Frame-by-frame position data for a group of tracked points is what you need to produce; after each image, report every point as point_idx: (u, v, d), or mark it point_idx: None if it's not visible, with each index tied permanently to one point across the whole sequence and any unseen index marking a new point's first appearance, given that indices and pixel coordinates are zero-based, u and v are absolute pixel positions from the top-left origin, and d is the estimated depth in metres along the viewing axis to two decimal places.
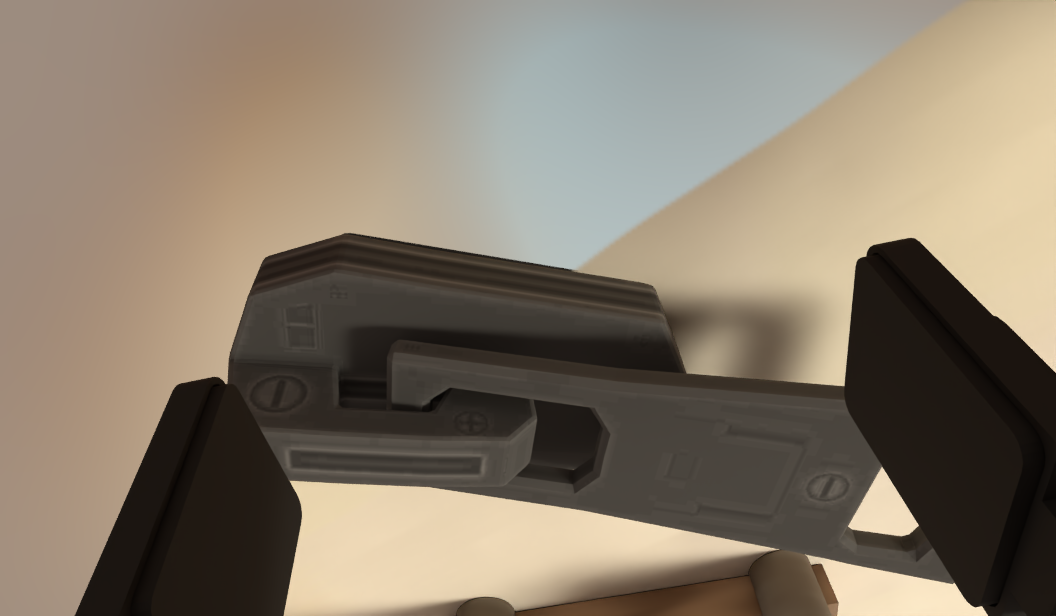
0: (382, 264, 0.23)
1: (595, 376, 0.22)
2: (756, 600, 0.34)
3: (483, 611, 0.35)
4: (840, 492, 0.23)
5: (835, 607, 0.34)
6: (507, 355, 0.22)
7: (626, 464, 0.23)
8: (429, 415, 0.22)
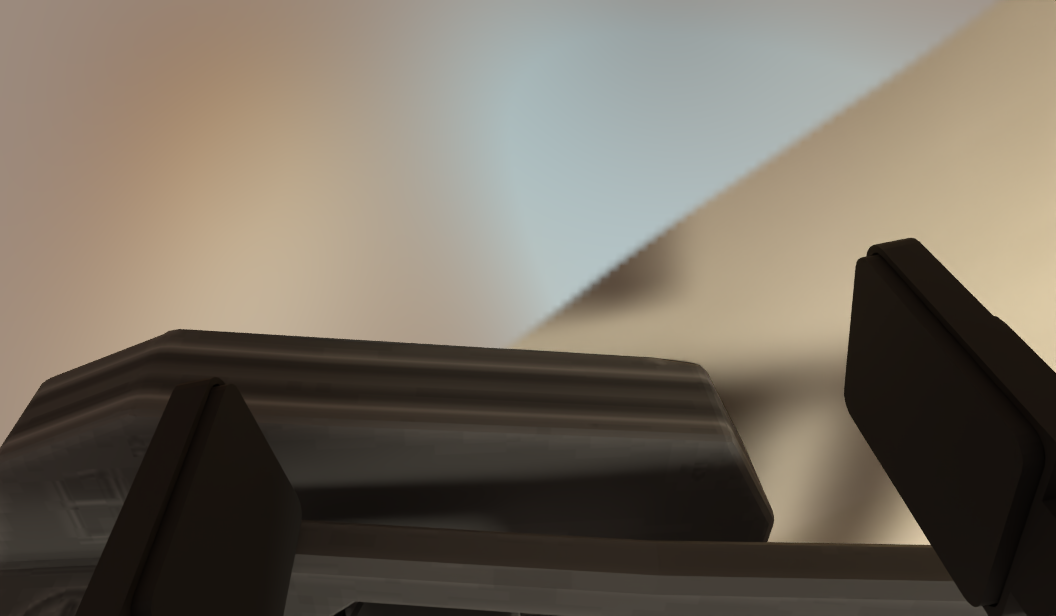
0: None
1: (619, 567, 0.12)
2: None
3: None
4: None
5: None
6: (457, 536, 0.12)
7: None
8: None
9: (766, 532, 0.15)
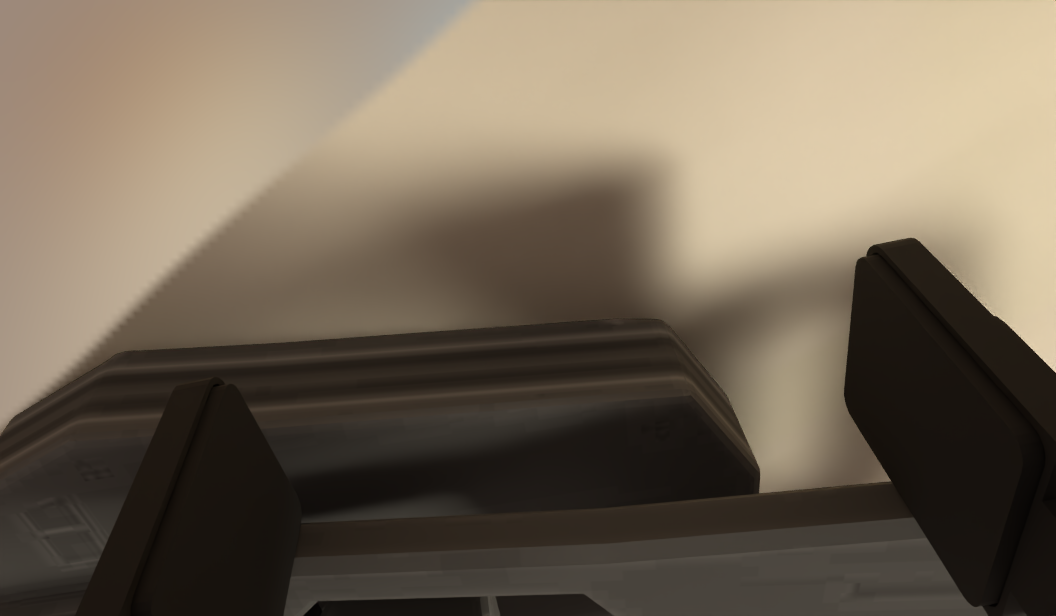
0: (166, 401, 0.13)
1: (569, 539, 0.11)
2: None
3: None
4: None
5: None
6: (404, 524, 0.12)
7: None
8: None
9: (754, 486, 0.14)
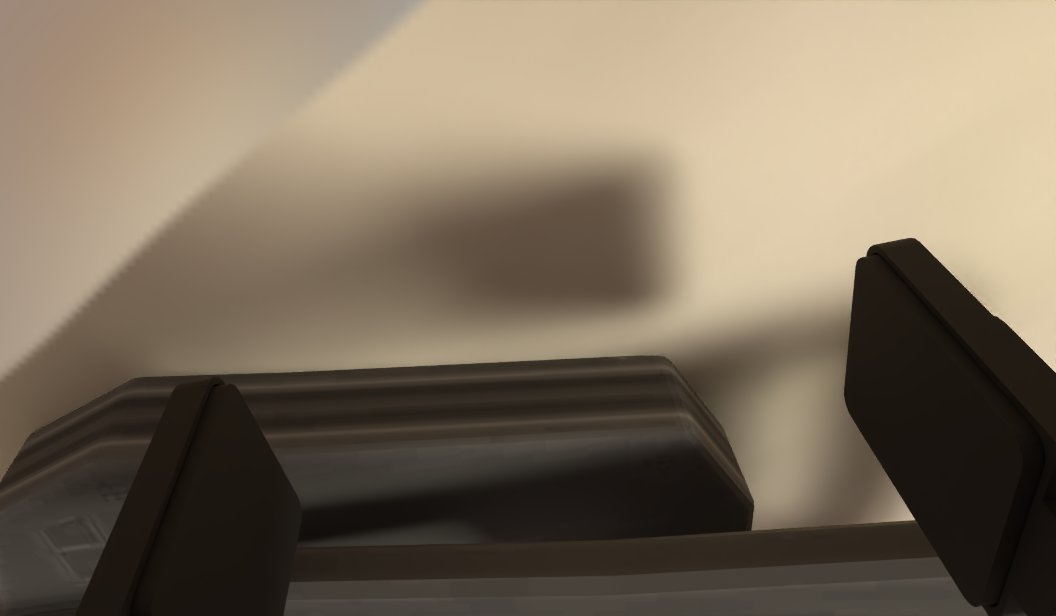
0: None
1: (575, 570, 0.12)
2: None
3: None
4: None
5: None
6: (416, 551, 0.12)
7: None
8: None
9: (748, 518, 0.15)
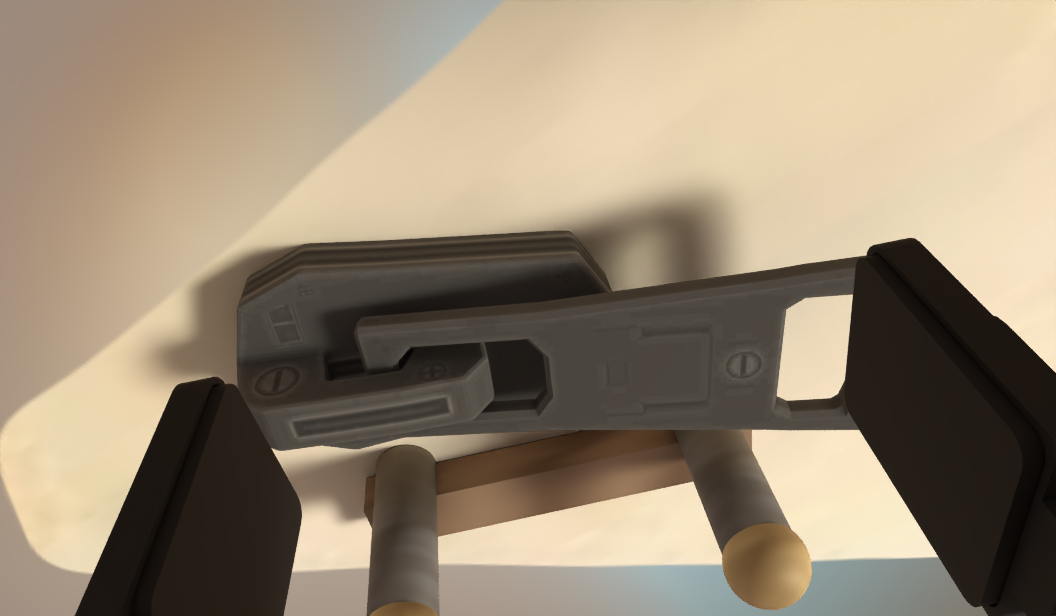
0: (336, 260, 0.28)
1: (521, 312, 0.26)
2: (672, 432, 0.35)
3: (401, 456, 0.34)
4: (755, 366, 0.27)
5: (749, 432, 0.34)
6: (449, 311, 0.27)
7: (571, 381, 0.28)
8: (398, 373, 0.27)
9: None
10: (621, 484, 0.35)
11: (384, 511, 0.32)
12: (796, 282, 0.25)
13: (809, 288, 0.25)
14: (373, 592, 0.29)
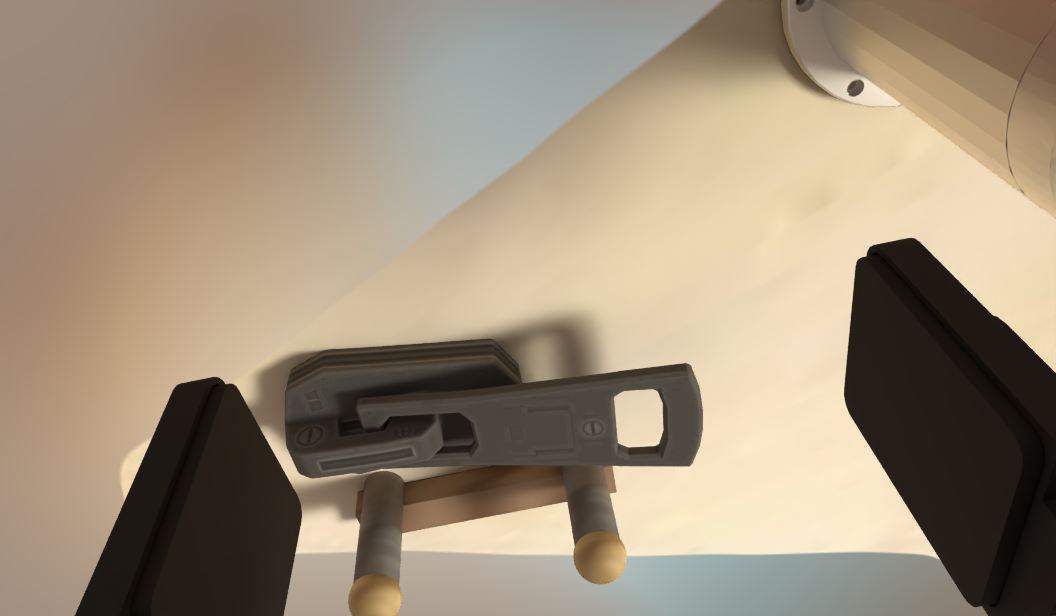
0: (345, 362, 0.45)
1: (455, 397, 0.44)
2: (561, 467, 0.52)
3: (380, 479, 0.52)
4: (600, 429, 0.44)
5: (611, 469, 0.52)
6: (412, 395, 0.44)
7: (488, 436, 0.45)
8: (382, 432, 0.45)
9: None
10: (527, 501, 0.53)
11: (367, 516, 0.50)
12: (615, 382, 0.42)
13: (623, 386, 0.42)
14: (358, 567, 0.47)
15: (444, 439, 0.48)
